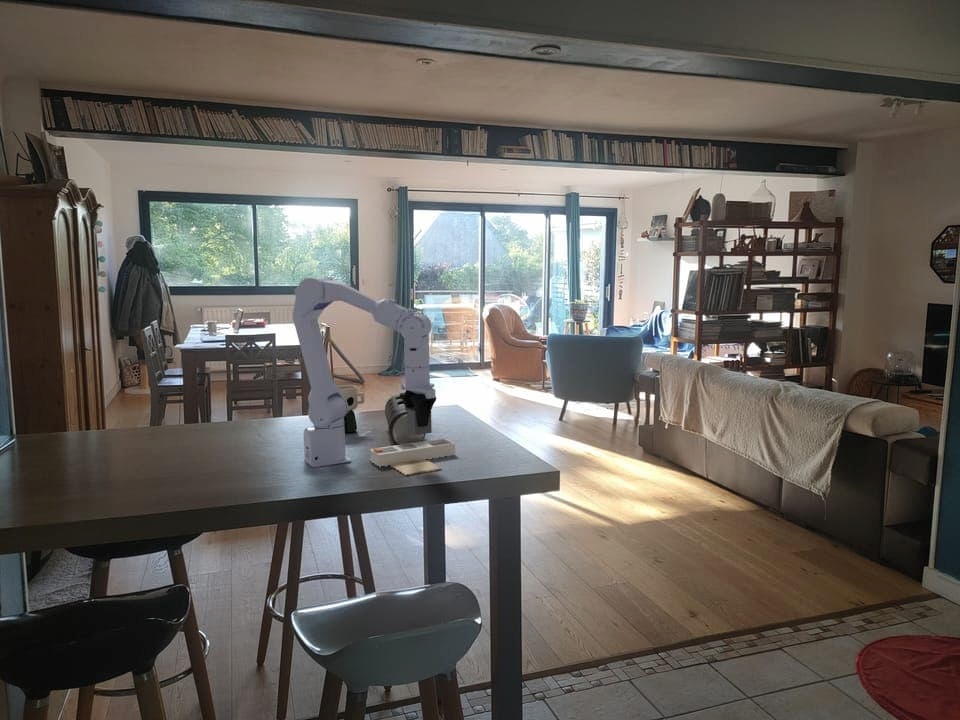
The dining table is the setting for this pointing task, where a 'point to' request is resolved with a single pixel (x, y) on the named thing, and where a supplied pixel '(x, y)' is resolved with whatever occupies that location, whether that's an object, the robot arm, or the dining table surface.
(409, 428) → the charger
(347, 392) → the character mug
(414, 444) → the socket strip
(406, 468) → the coaster
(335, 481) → the dining table surface
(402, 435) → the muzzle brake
